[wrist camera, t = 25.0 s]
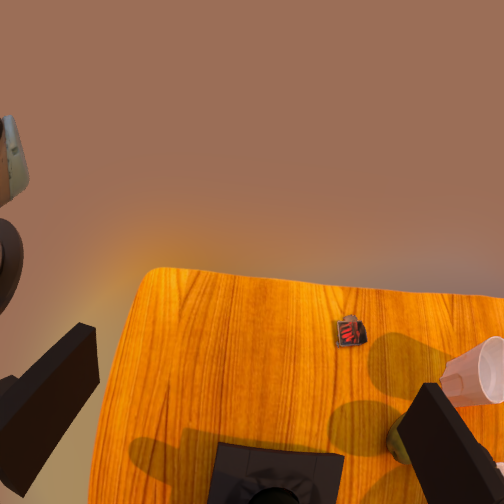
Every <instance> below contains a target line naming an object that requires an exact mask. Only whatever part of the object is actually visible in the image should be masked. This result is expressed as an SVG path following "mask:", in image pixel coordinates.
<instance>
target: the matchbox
mask: <svg viewBox="0 0 504 504" xmlns="http://www.w3.org/2000/svg"><path fill="white" fill-rule="evenodd" d="M343 319H345V320H344V321H337V322H338V323H337V324H338V331H339V334H338V335H337V336H339V342H340V343H338V341H337V342H336V344H337V346H338V348H339V344H340V346H342V347H345V346H352V345H361V344H363V343H366V342H367V335H366V329H365V326H364V325H363V323H362V321H357V320H356V319H357V317H356V316H355V315H354V316H352V315H348V316H346V317H344V318H343ZM351 320H353V321H351ZM354 320H356V321H354Z"/></svg>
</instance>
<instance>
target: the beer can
mask: <svg viewBox="0 0 504 504" xmlns="http://www.w3.org/2000/svg"><path fill="white" fill-rule="evenodd" d="M248 504H299V503H298V502H297V501H296V500H295V499H294V498H293V497H292V496H291V495H290V494H289V493H288V492H287V491H286V490H285V489H283V488H280V487H271V488H267V489H263V490H261V491H260V492H258V493H257V494H255V495H254V496H253V497H252V499H251V500H250V501H249V503H248Z"/></svg>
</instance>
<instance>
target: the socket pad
mask: <svg viewBox="0 0 504 504" xmlns="http://www.w3.org/2000/svg"><path fill="white" fill-rule="evenodd" d="M344 457H345V456H343V455H339V454H335V453H312V452H294V451H282V450H272V449H263V448H255V447H247V446H241V445H234V444H228V443H223V442H218V447H217V453H216V458H215V463H214V468H213V474H212V479H211V484H210V489H209V495H208V500H207V504H248V503H249V501H250V500H251V499H252V497H253V496H254V495H255V494H257V493H258V492H260V491H261V490H263V489H267V488H271V487H280V488H285V489H287V490H290V491H291V493H292V497H293V498H294V499H295V500H296V501H297V502H298V503H299V504H336V500H337V495H338V490H339V485H340V480H341V474H342V469H343V463H344Z"/></svg>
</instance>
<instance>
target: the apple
mask: <svg viewBox="0 0 504 504" xmlns="http://www.w3.org/2000/svg"><path fill="white" fill-rule="evenodd" d="M405 414H406V412H405V413H404V414H403V415H402V416H400V417H399V418H398V419H397V420H396V421H395V423H394V424H393V425H392V427H391V429H390V430H389V433H388V435H387V439H386V445H387V448H388V450H389V451H390V453H391V454H392V455H393V457H394V459H395V460H396V461H398V462H399V463H401V464H412V463H411V461H410V459H409V456H408V454H407V452H406V450H405V447H404V445H403V443H402V440H401V438H400V436H399V434H398V432H397V429H396V428H397V427H398V425H399V423H400V422H401V420H402V419H403V417H404V416H405Z"/></svg>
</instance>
